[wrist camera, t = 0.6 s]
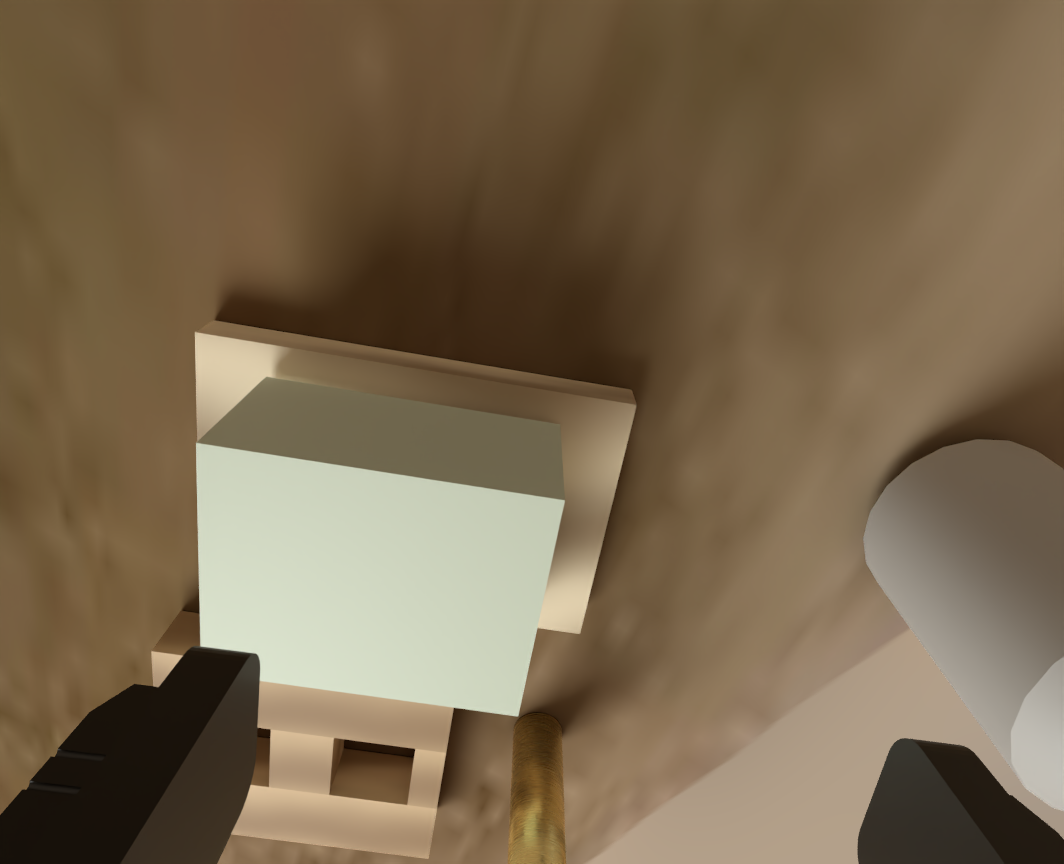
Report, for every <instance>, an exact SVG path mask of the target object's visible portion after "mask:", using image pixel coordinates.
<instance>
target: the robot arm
mask: <svg viewBox="0 0 1064 864" xmlns="http://www.w3.org/2000/svg"><path fill="white" fill-rule="evenodd" d="M259 685H260V660H259V657H258V655H257V654H256V653H248V652H240V651H233V650H225V649H217V648H209V647H201V646H193V647H191V648H190V649H188V650H187V651H186V653H185V654H184V655H183V656H182V657H181V659H180V660H179V661H178V663H177V664H176V665H175V667H174V668H173V669H172V670H171V672H170V673H169V674H168V676H167V677H166V678H165V680H164V681H163V682H162V683H161V685H160V686H159V687H154V686H146V685H138V684H134V685H132V686H130V687H129V688H127V689H126V690H124V691H123V692H121V693H119V694H118V695H116V696H115V697H113V698H111V699H110V700H108V701H107V702H105V703H103V704H102V705H100V706H99V707H97V708H95V709H94V710H92V711H91V712H89V714H88V715H87V716H86V717H85V718H84V719H83V720H82V722H81V723H80V724H79V725H78V726H77V727H76V729H75V730H74V731H73V732H72V733H71V734H70V735H69V737H68V738H67V739H66V740H65V741H64V742H63V743H62V745H61V746H60V747H59V748H58V751H57V754H56V756H55V757H50V758H49V760H48V761H47V762H46V763H45V764H44V765H43V767H42V768H41V769H40V770H39V771H38V772H37V773H36V775H35V776H34V777H33V778H32V779H31V780H30V784H29V787H28V788H27V790H22V791H21V792H20V793H19V794H18V795H17V796H16V798H15V799H14V800H13V801H12V802H11V803H10V805H9V806H8V807H7V808H6V809H5V810H4V811H3V813H2V814H1V815H0V864H217V863H218V861H219V858H220V856H221V854H222V852H223V850H224V848H225V846H226V844H227V842H228V839H229V837H230V835H231V833H232V831H233V829H234V827H235V825H236V823H237V820H238V818H239V816H240V814H241V812H242V809H243V807H244V804H245V802H246V799H247V796H248V792H249V789H250V785H251V782H252V777H253V773H254V767H255V761H256V748H257V727H258V706H259ZM858 861H859V864H1064V839H1063V838H1062V837H1061V836H1060V835H1059V834H1058V833H1057V832H1056V831H1055V830H1054V829H1052V828H1051V827H1050V826H1048V824H1046V823H1045V822H1044V821H1043V820H1041V819H1040V818H1039V817H1038V816H1036V815H1035V814H1034V813H1033V812H1032V811H1030V810H1029V809H1028V808H1027V807H1025V806H1024V805H1023V804H1022V803H1021V802H1019V801H1018V800H1017V799H1016V798H1014V797H1013V796H1011V795H1009V794H1008V793H1007V792H1006V791H1005V790H1004V788H1003V787H1002V786H1001V785H1000V783H999V782H998V781H997V780H996V779H995V777H994V776H993V775H992V774H991V773H990V771H989V770H988V769H987V768H986V766H985V765H984V764H983V763H982V761H981V760H980V759H979V758H978V757H977V756H976V755H975V753H974V752H973V751H971V750H970V749H968V748H967V747H964V746H961V745H954V744H946V743H938V742H930V741H922V740H914V739H906V738H904V739H900V740H897V741H896V742H895V743H894V744H893V746H892V747H891V749H890V751H889V753H888V756H887V759H886V761H885V764H884V767H883V770H882V772H881V775H880V777H879V780H878V783H877V786H876V788H875V791H874V793H873V796H872V799H871V802H870V804H869V807H868V810H867V812H866V815H865V818H864V820H863V823H862V826H861V829H860V832H859V837H858Z"/></svg>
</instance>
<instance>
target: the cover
mask: <svg viewBox="0 0 1064 864" xmlns="http://www.w3.org/2000/svg"><path fill="white" fill-rule="evenodd" d="M196 464H197V510H198V556H199V602H200V646H201V647H209V648H217V649H225V650H233V651H240V652H248V653H256V654H257V655H258V657H259V660H260V681H264V682H271V683H279V684H286V685H293V686H300V687H308V688H315V689H322V690H329V691H337V692H344V693H351V694H358V695H366V696H373V697H380V698H387V699H395V700H402V701H409V702H417V703H424V704H431V705H438V706H446V707H453V708H460V709H467V710H475V711H482V712H489V713H496V714H504V715H511V716H518V714H519V710H520V705H521V701H522V696H523V691H524V687H525V682H526V678H527V673H528V668H529V664H530V659H531V655H532V650H533V645H534V641H535V636H536V632H537V627H538V622H539V618H540V613H541V609H542V604H543V599H544V595H545V590H546V586H547V581H548V576H549V572H550V567H551V562H552V558H553V553H554V549H555V544H556V539H557V535H558V530H559V526H560V521H561V516H562V512H563V507H564V503H565V493H564V477H563V461H562V445H561V429H560V424H555V423H549V422H543V421H537V420H530V419H524V418H518V417H512V416H506V415H500V414H494V413H487V412H481V411H475V410H469V409H463V408H457V407H450V406H444V405H438V404H432V403H426V402H420V401H413V400H407V399H401V398H395V397H389V396H383V395H376V394H370V393H364V392H358V391H352V390H346V389H339V388H333V387H327V386H321V385H315V384H309V383H302V382H296V381H290V380H284V379H278V378H272V377H265V378H264V379H263V380H262V381H261V382H260V383H259V384H258V385H257V386H256V387H255V388H253V389H252V390H251V391H250V392H249V393H248V394H247V395H246V396H245V397H244V398H243V399H242V400H241V401H240V402H239V403H238V404H237V405H236V406H234V407H233V408H232V409H231V410H230V411H229V412H228V413H227V414H226V415H225V416H224V417H223V418H222V419H221V420H220V421H219V422H218V423H217V424H215V425H214V426H213V427H212V428H211V429H210V430H209V431H208V432H207V433H206V434H205V435H204V436H203V437H202V438H201V439H200V440H199V441H198V442H196Z"/></svg>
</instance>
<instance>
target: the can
mask: <svg viewBox="0 0 1064 864" xmlns="http://www.w3.org/2000/svg"><path fill="white" fill-rule="evenodd" d="M863 540H864V548H865V557H866V563H867V565H868V567H869V569H870V570H871V572H872V574H873V575H874V577H875V579H876V581H877V582H878V584H879V585H880V587H881V588H882V590H883V591H884V592H885V594H886V595H887V597H888V598H889V599H890V601H891V602H892V603H893V605H894V606H895V608H896V609H897V610H898V612H899V613H900V615H901V616H902V617H903V619H904V620H905V622H906V623H907V624H908V626H909V627H910V629H911V630H912V631H913V633H914V634H915V635H916V637H917V638H918V640H919V641H920V642H921V644H922V645H923V647H924V648H925V649H926V651H927V652H928V653H929V655H930V656H931V657H932V659H933V660H934V662H935V663H936V664H937V666H938V667H939V669H940V670H941V672H942V673H943V674H944V676H945V677H946V678H947V680H948V681H949V683H950V684H951V685H952V687H953V688H954V690H955V691H956V692H957V694H958V695H959V697H960V698H961V699H962V701H963V702H964V704H965V705H966V706H967V708H968V709H969V710H970V712H971V713H972V715H973V716H974V717H975V719H976V720H977V721H978V723H979V724H980V726H981V727H982V729H983V730H984V731H985V733H986V734H987V735H988V737H989V738H990V740H991V741H992V742H993V744H994V745H995V747H996V748H997V749H998V751H999V752H1000V754H1001V755H1002V756H1003V758H1004V759H1005V761H1006V762H1007V763H1008V765H1009V766H1010V767H1011V769H1012V770H1013V772H1014V773H1015V774H1016V776H1017V777H1018V778H1019V780H1020V781H1021V783H1022V784H1023V786H1024V787H1025V788H1026V789H1027V790H1028V791H1030V792H1031V793H1032V794H1034V795H1035V796H1037V797H1038V798H1039V799H1041V800H1042V801H1044V802H1045V803H1046V804H1048V805H1049V806H1051V807H1052V808H1055V809H1059V810H1062V811H1064V469H1063V468H1062V467H1060V466H1059V465H1057V464H1056V463H1054V462H1053V461H1051V460H1050V459H1048V458H1047V457H1045V456H1044V455H1042V454H1041V453H1039V452H1038V451H1036V450H1034V449H1031V448H1028V447H1025V446H1023V445H1020V444H1017V443H1015V442H1012V441H1009V440H982V439H976V440H971V441H967V442H963V443H959V444H955V445H950V446H946V447H942V448H940V449H939V450H937V451H935V452H933V453H931V454H929V455H927V456H925V457H923V458H921V459H919V460H917V461H916V462H914V463H912V464H911V465H909V466H908V467H907V468H906V469H905V470H904V471H903V472H902V473H901V474H899V475H898V476H897V477H896V478H895V479H894V480H893V481H892V482H890V483H889V484H888V485H887V486H886V488H885V489H884V491H883V492H882V494H881V496H880V497H879V499H878V500H877V502H876V503H875V505H874V506H873V508H872V510H871V511H870V514H869V518H868V522H867V526H866V530H865V533H864V537H863Z"/></svg>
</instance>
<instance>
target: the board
mask: <svg viewBox="0 0 1064 864" xmlns="http://www.w3.org/2000/svg"><path fill="white" fill-rule="evenodd" d="M195 356H196V403H197V442H198V441H199V440H200V439H201V438H202V437H203V436H204V435H205V434H206V433H207V432H208V431H209V430H210V429H211V428H212V427H213V426H214V425H215V424H217V423H218V422H219V421H220V420H221V419H222V418H223V417H224V416H225V415H226V414H227V413H228V412H229V411H230V410H231V409H232V408H233V407H234V406H236V405H237V404H238V403H239V402H240V401H241V400H242V399H243V398H244V397H245V396H246V395H247V394H248V393H249V392H250V391H251V390H252V389H253V388H255V387H256V386H257V385H258V384H259V383H260V382H261V381H262V380H263V379H264V378H265V377H272V378H278V379H284V380H290V381H296V382H302V383H309V384H315V385H321V386H327V387H333V388H339V389H346V390H352V391H358V392H364V393H370V394H376V395H383V396H389V397H395V398H401V399H407V400H413V401H420V402H426V403H432V404H438V405H444V406H450V407H457V408H463V409H469V410H475V411H481V412H487V413H494V414H500V415H506V416H512V417H518V418H524V419H530V420H537V421H543V422H549V423H555V424H560V429H561V445H562V461H563V477H564V493H565V503H564V507H563V512H562V516H561V521H560V526H559V530H558V535H557V539H556V544H555V549H554V553H553V558H552V562H551V567H550V572H549V576H548V581H547V586H546V590H545V595H544V599H543V604H542V609H541V613H540V618H539V622H538V627H537V628H542V629H549V630H556V631H563V632H570V633H577V634H580V631H581V627H582V623H583V619H584V615H585V611H586V607H587V603H588V599H589V595H590V591H591V587H592V583H593V579H594V575H595V571H596V567H597V563H598V559H599V555H600V551H601V547H602V543H603V539H604V535H605V531H606V527H607V523H608V519H609V515H610V511H611V507H612V503H613V499H614V495H615V491H616V487H617V482H618V478H619V474H620V470H621V466H622V462H623V458H624V454H625V450H626V446H627V442H628V438H629V434H630V430H631V426H632V422H633V418H634V414H635V410H636V406H637V404H636V401H635V398H634V395H633V392H632V390H630V389H624V388H618V387H612V386H606V385H600V384H594V383H588V382H582V381H576V380H570V379H564V378H558V377H552V376H546V375H540V374H534V373H528V372H522V371H516V370H510V369H504V368H498V367H492V366H486V365H480V364H474V363H468V362H462V361H456V360H450V359H444V358H438V357H431V356H425V355H419V354H413V353H407V352H401V351H395V350H389V349H383V348H377V347H371V346H365V345H359V344H353V343H347V342H341V341H335V340H329V339H323V338H317V337H311V336H305V335H299V334H293V333H287V332H281V331H275V330H269V329H263V328H257V327H251V326H245V325H239V324H233V323H227V322H221V321H215V320H214V321H212V322H211V323H209V324H207V325H206V326H204V327H203V328H201V329H199V330H198V331H196V332H195Z"/></svg>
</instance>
